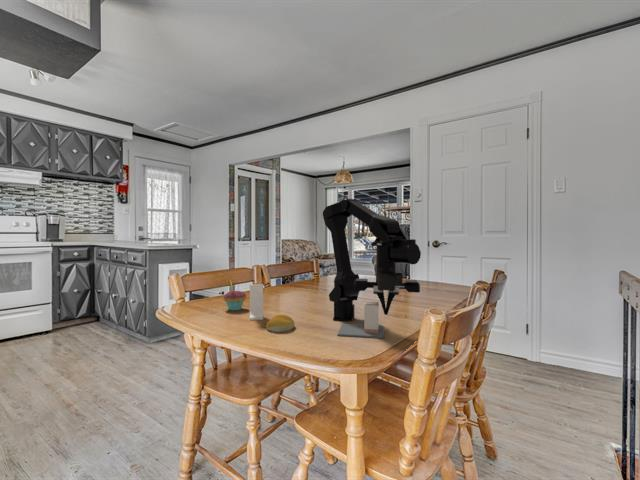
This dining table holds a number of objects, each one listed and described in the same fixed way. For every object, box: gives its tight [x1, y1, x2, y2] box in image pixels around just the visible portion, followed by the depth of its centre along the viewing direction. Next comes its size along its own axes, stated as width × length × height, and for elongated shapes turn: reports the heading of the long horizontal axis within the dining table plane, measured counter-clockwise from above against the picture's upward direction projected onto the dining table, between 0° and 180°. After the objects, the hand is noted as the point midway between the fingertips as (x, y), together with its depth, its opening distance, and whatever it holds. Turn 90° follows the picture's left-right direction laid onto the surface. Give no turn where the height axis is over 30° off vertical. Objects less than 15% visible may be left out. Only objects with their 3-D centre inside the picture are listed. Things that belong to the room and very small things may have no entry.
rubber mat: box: [337, 323, 385, 339], centre depth 101 cm, size 13×11×1 cm
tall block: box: [363, 301, 380, 333], centre depth 100 cm, size 4×5×8 cm
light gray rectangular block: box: [249, 283, 264, 321], centre depth 117 cm, size 5×6×12 cm
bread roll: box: [265, 314, 296, 333], centre depth 104 cm, size 8×9×4 cm
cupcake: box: [223, 278, 247, 311], centre depth 130 cm, size 9×8×12 cm
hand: (385, 314), depth 99 cm, fingers closed
